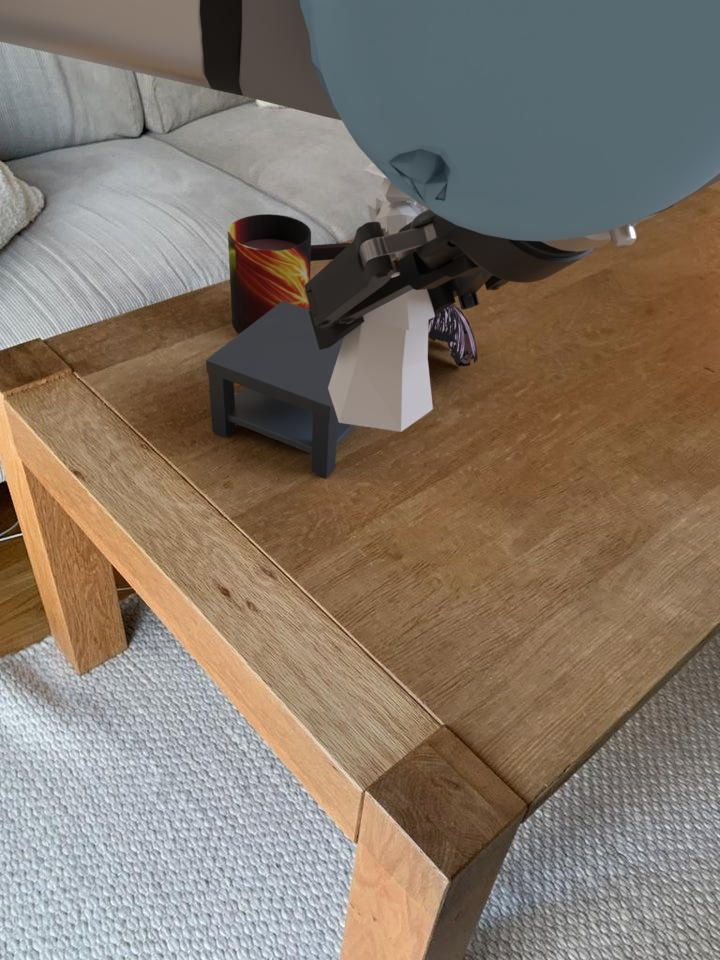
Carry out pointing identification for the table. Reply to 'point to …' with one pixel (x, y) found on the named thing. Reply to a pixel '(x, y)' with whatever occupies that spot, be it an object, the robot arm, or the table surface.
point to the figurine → (386, 344)
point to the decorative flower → (454, 334)
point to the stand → (279, 385)
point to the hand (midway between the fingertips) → (362, 320)
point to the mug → (270, 265)
